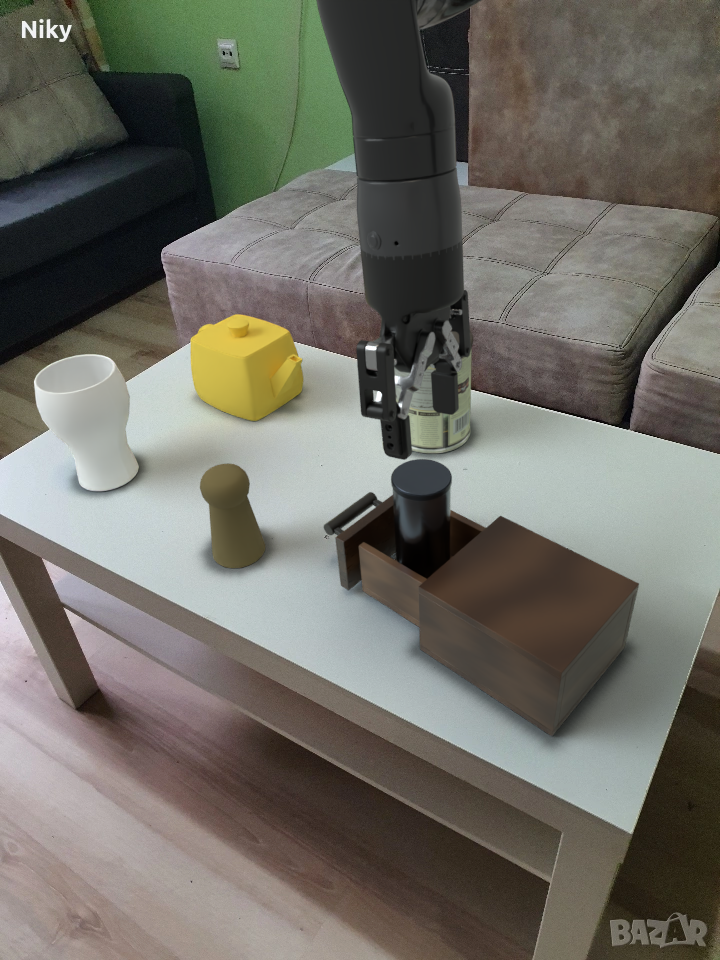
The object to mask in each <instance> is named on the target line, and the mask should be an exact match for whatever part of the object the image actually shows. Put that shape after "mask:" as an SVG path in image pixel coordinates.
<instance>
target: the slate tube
mask: <svg viewBox="0 0 720 960" xmlns="http://www.w3.org/2000/svg"><path fill="white" fill-rule="evenodd" d="M452 483H453V476H452V473H451V470H450V469H449V468H448V467H447V466H446V465H444V464H443V463H441V462H439V461H436V460H433V459H427V458H417V459H416V458H415V459H411V460H408V461H407V460H406V461H405V462H403V463H401V464H399V465H398V466H397V467H395V468H394V470H393V471H392V472H391V476H390V485H391V489H392V495H393V507H394V528H395V548H396V553H395V558H396V561H397V562H399V563H400V564H402V565H404V566H406V567H407V568H409V569H411V570H412V571H414V572H416V573H417V574H419V575H421V576H423V577H424V578H426V579H428V578H429V577H430V576H431V575H432V574H434V573H435V572H436V571H437V570H438V569H439V568H440V567H442V566H443V565H444V564H445V563H446V562H447V561H449V560H450V510H451V498H452V497H451V495H452V494H451V492H452V490H451V488H452V485H453V484H452Z"/></svg>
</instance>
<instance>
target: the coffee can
mask: <svg viewBox="0 0 720 960" xmlns="http://www.w3.org/2000/svg"><path fill="white" fill-rule="evenodd" d="M452 333H453V335H454V337H455V339H456V341H457V342H459V334H458V333H457V332H454V331H452ZM470 341H471V352H470V355H469V356H468V357H462V367H461V370H460V371H459V372H457V373H458V399H459V409H458V411H456V412H455V413H454V414H453V415H449V414H443V413H438V412H436V411H435V410H434V409H433V401H432V383H431V373H432V372H433V371H434V370H436V369H434V368H432V367H431V366H430V365H429V367H428V368H427V370H426V371H425V372H424V376H423V380H422V384H421V387H420V389H419V390H418V391H415V392H414V393H413V396H412V400H411V404H410V408H409V413H408V415H409V417H410V431H411V444H412V452H416V453H420V454H421V453H422V454H442V453H443V454H444V453H448V452H451V451H453V450H457V449H458V448H460V447H462V446H463V445H464V444H465V443H466V442H467V441H468V440H469V438H470V436H471V432H472V431H471V430H472V429H471V408H472V407H471V403H472V371H473V370H472V363H473V362H472V359H473V357H472V356H473V353H472V352H473V344H474V334H473V333H472V331H471V330H470ZM394 368H395V367H394ZM409 374H410V373H405V372H400V371H398V370H397V369H396V368H395V376H402V377H406V376H408V375H409ZM395 389H396V402H398V400H399V396H400V392H401V388H395Z"/></svg>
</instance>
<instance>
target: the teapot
mask: <svg viewBox="0 0 720 960" xmlns="http://www.w3.org/2000/svg"><path fill="white" fill-rule="evenodd" d="M302 364H303V358H302V357H300V356H299V353H298V350H297V347H296V344H295V341H294V339H293V336H292V334H291V331H289V330H288V329H287V328H285V327H283V326H280V325H278V324H275V323H273V322H269V321H267V320H264V319H261V318H258V317H254V316H249V315H245V314H238V313H236V314H233V315H231V316H229V317H227V318H223V320H221V321H219V322H217V323H215V324H213V323H207V324H204V325H202V326H200V328H199V329H198V331H197V333H196V334H195V335H193V336H192V337H191V338H190V370H191V378H192V383H193V387H194V390H195V392H196V394H197V396H198V398H200V400H201V401H202V402H204V403H206V404H207V405H209V406H211V407H213V408H215V409H217V410H218V411H221V412H223V413H226V414H229V415H231V416H233V417H237V418H240V419H243V420H245V421H251V422H258V421H260V420H262V419H264V418H265V417H267V416H269V415H270V414H272V413H273V412H275V411H277V410H278V409H280V408H281V407H283V406H284V405H286V404H287V403H289V402H291V400H293V399H294V398H296V397H297V396H299V395H300V394H301V393H302V391H303V386H304V373H303V368H302Z"/></svg>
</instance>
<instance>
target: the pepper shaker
mask: <svg viewBox="0 0 720 960" xmlns="http://www.w3.org/2000/svg"><path fill="white" fill-rule="evenodd" d="M250 484H251V481H250V478H249V475H248V474H247V471H245V470H244V468H242V467H241V466H240V465H238V464H235V463H219V464H215V465H213V466H212V467H210V468H208V469H207V470H205V471H204V473H203V474H202V476H201V478H200V481H199V490H200V493H201V496H202V499H204V501H205V503H207V504H208V512H209V513H208V514H209V525H210V527H209V528H210V538H211V541H210V542H211V552H212V553H211V554H212V558H213V560H214V562H215V563H217V565H220V566H222V567H223V568H229V569H241V568H246V567H248V566H251V565H253V564H254V563H256V562H258V561H259V560H260V559H261V558H262V557H263V555H264V554H265V552H266V547H267V546H266V541H265V539H264V537H263V534H262V531H261V528H260V526H259V524H258V520H257V518H256V515H255V513H254V510H253V508H252V505H251V502H250V500H249V497H248V495H249V493H250V487H251V485H250Z"/></svg>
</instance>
